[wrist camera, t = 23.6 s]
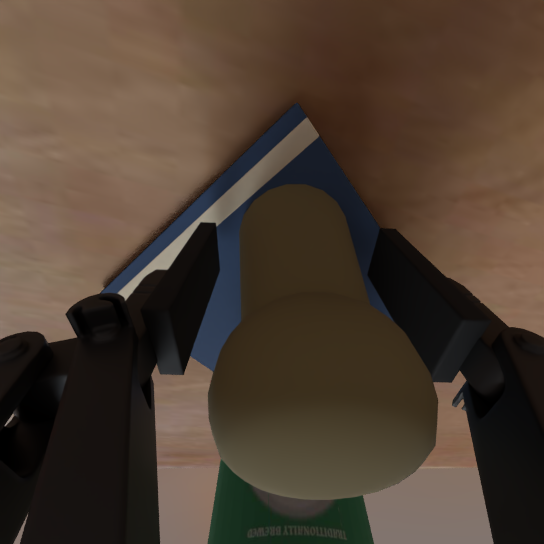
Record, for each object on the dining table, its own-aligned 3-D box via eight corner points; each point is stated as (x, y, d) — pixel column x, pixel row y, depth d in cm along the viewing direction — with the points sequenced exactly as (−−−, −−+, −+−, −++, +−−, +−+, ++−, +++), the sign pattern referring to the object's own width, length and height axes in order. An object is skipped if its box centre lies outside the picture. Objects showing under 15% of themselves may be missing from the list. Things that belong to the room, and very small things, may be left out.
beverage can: (342, 344, 19) (426, 625, 8) (324, 406, 23) (365, 644, 13) (233, 339, 18) (181, 620, 8) (235, 403, 23) (203, 640, 12)
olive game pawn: (370, 217, 13) (590, 449, 4) (310, 297, 16) (358, 543, 7) (269, 160, 12) (250, 317, 3) (222, 259, 15) (134, 503, 6)
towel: (103, 289, 17) (98, 294, 16) (296, 102, 11) (297, 101, 11) (289, 418, 25) (289, 423, 24) (456, 345, 19) (461, 350, 19)
